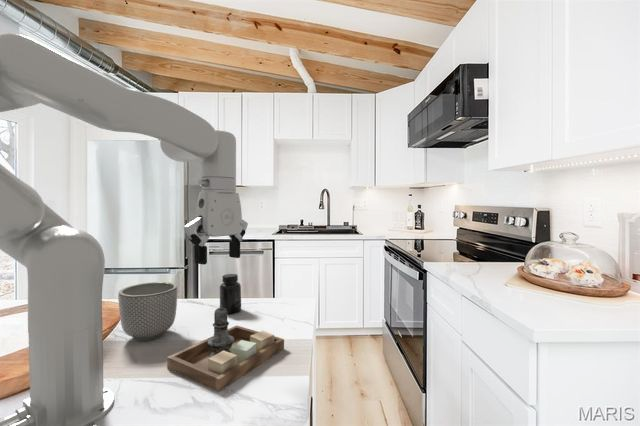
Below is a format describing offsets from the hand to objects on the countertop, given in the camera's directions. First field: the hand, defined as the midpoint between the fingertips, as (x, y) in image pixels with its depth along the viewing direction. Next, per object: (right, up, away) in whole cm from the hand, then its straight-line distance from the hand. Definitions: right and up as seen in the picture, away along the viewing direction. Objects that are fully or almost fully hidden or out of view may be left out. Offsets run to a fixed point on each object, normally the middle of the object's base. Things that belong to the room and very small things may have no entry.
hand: (218, 260), depth 72 cm
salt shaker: (0, -22, 0) cm, 22 cm away
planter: (-22, -22, +12) cm, 34 cm away
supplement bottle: (-6, -22, +31) cm, 38 cm away
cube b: (+7, -22, -3) cm, 23 cm away
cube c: (+10, -22, +2) cm, 24 cm away
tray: (+3, -23, -1) cm, 23 cm away
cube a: (+4, -22, -8) cm, 24 cm away
